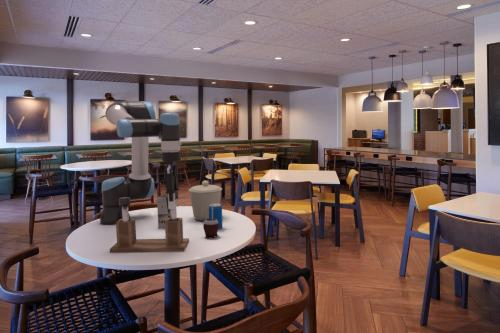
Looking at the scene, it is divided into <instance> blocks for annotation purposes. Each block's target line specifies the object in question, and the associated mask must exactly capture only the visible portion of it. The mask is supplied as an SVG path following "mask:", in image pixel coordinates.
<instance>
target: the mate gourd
mask: <svg viewBox="0 0 500 333" xmlns="http://www.w3.org/2000/svg"><path fill="white" fill-rule="evenodd" d="M202 226H203V231H204V236H205V237H204V238H205V239H209V238H212V239H216V237H217V236H218V231H219V230H218V229H219V223H218V221H217V219H215V218H213V202H212V218H209V219H206V220H205V221H203V225H202Z"/></svg>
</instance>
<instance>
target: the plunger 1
mask: <svg viewBox="0 0 500 333" xmlns="http://www.w3.org/2000/svg"><path fill="white" fill-rule="evenodd" d="M119 206H122V217H123V222H129V215H130V214H129V215H128V212H129V206H131V200H130V197H122V198H119Z"/></svg>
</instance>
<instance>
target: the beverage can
mask: <svg viewBox="0 0 500 333" xmlns="http://www.w3.org/2000/svg"><path fill="white" fill-rule="evenodd" d="M209 218H212V204H210V205H209ZM213 218H215V219H217V221H218V223H219V229H218V231H220V230H221V229H222V228H223V207H222V204H221V203H220V204H213Z"/></svg>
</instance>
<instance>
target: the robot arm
mask: <svg viewBox="0 0 500 333" xmlns="http://www.w3.org/2000/svg"><path fill="white" fill-rule="evenodd" d="M105 118H106V120H107V121H108V122H109V123H111V125H115V127H116V133H117V136H118V137H119V138H125V139H126V138H127V139H128V138H131V173H130V174H129V175H128V178H127V179H125V177H124V176H118V177H113V178H107V179H105V180H103V181H102V183H101V195H102V196H101V197H102V198H101V200H102V211H101V215H100V217H99V222H100V224H101V225H105V226H106V225H111V226H112V225H116V222H117V221H119V220H120V219H123V217H122V206H119V198H122V197H130V201H135V200H136V201H137V200H145V199H150V198H151V197H152V196H153V195H154V191H155V179H154V178H153V177H152V175H151V174H150V173H149V144H150V143H149V138H157V137H159V138H160V147H161V149H160V150H161V151H162V152H161V162H164V163H166V166H165V169H164V171H165V172H164V173H165V187H166V188H165V189H166V191H165V194H168V209H176V210H177V207H178V206H179V201H178V200H179V198H178V199H176V208H175V193H174V190H177V191H180V188H179V173H178V172H179V166H178V164H177V162H179V161H181V157H182V156H181V154H182V153H181V152H180V151H181V146H182V142H181V134H180V132H181V131H180V130H181V129H180V126H181V125H180V124H181V122H180V115H179V113H176V112H163V113H161V114H160V116H159V118H157V117H156V110H155V106H154V105H153V103H152V102H150V101H145V100H144V101H143V100H142V101H141V100H119V101H118V100H117V101H115V102H113V103H111V104H109V105H108V106H107V108H106V110H105ZM128 215H129V219H131V214H130V213H129V211H128Z"/></svg>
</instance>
